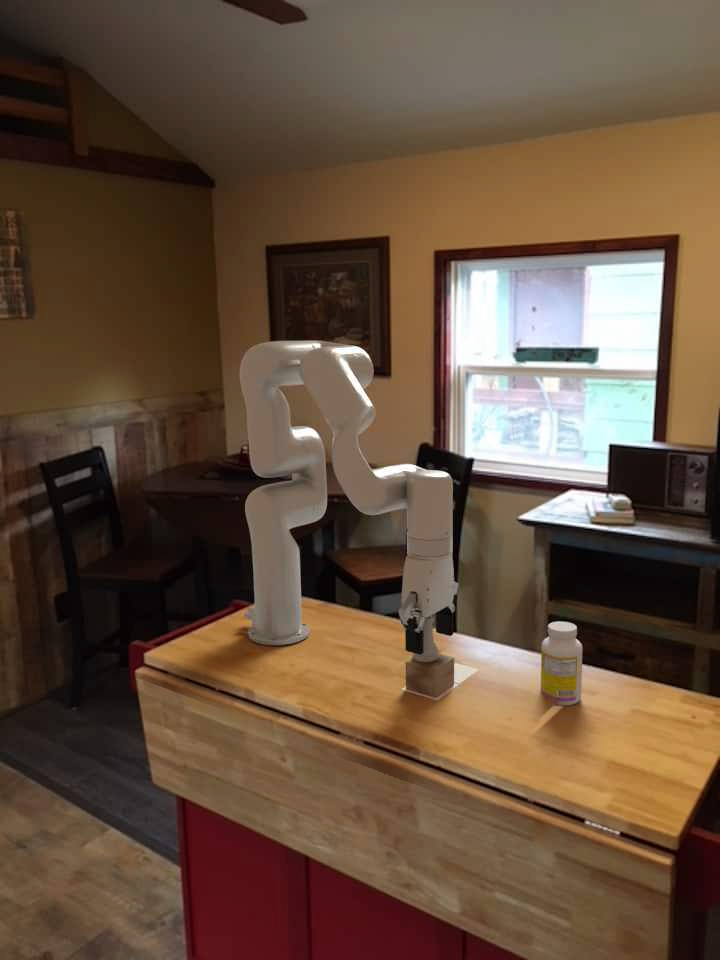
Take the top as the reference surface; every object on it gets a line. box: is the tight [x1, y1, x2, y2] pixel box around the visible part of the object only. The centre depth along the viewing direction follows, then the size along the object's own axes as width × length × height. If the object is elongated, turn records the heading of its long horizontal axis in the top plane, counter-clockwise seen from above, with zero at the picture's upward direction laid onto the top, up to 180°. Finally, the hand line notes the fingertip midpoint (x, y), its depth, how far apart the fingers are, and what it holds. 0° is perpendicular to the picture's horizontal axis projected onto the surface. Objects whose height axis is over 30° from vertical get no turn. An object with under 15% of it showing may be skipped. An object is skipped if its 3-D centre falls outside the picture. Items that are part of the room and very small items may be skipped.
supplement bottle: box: [540, 621, 583, 707], centre depth 135 cm, size 7×7×13 cm
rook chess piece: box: [412, 614, 439, 663], centre depth 137 cm, size 4×4×8 cm
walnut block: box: [405, 652, 455, 698], centre depth 138 cm, size 6×6×5 cm
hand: (429, 642), depth 137 cm, fingers open, 9 cm apart
